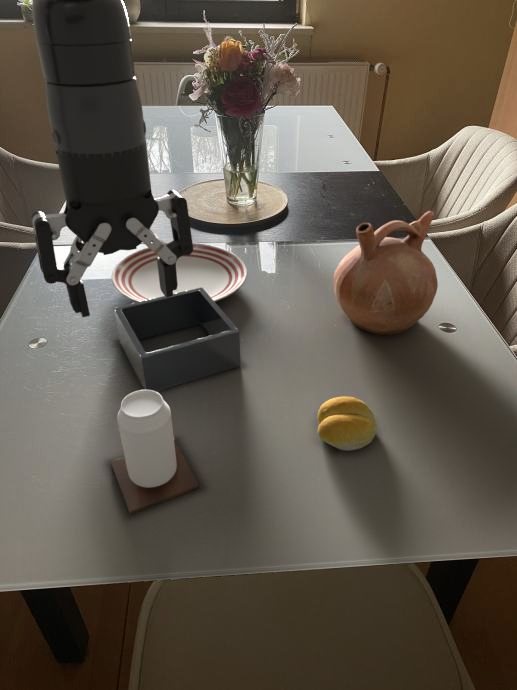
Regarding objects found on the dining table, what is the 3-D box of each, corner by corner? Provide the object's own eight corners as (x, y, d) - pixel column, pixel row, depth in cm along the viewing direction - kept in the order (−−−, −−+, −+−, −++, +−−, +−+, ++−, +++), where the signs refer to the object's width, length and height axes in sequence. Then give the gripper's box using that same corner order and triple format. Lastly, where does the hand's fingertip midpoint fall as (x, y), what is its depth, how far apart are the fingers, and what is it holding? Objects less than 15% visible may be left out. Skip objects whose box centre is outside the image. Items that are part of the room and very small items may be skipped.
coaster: (129, 514, 65) (129, 512, 64) (111, 464, 71) (110, 461, 71) (199, 487, 68) (199, 485, 68) (175, 442, 75) (175, 439, 74)
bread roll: (317, 452, 73) (319, 430, 71) (316, 408, 80) (318, 387, 78) (378, 455, 73) (382, 434, 70) (372, 410, 80) (375, 390, 78)
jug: (396, 287, 111) (412, 192, 99) (450, 333, 97) (476, 229, 85) (315, 302, 106) (322, 204, 94) (359, 353, 92) (375, 245, 80)
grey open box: (147, 394, 83) (141, 358, 79) (119, 341, 94) (113, 307, 90) (240, 366, 89) (240, 331, 85) (204, 319, 100) (202, 287, 96)
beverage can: (184, 460, 71) (177, 391, 64) (165, 496, 66) (155, 425, 59) (141, 450, 72) (130, 382, 66) (120, 485, 68) (105, 415, 61)
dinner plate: (269, 270, 116) (269, 257, 114) (202, 333, 96) (201, 317, 95) (165, 246, 127) (164, 232, 125) (85, 298, 107) (81, 283, 105)
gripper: (166, 119, 51) (180, 273, 60) (5, 136, 45) (47, 302, 55) (195, 138, 45) (205, 304, 54) (16, 160, 40) (61, 339, 49)
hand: (126, 303), depth 55 cm, fingers open, 8 cm apart
